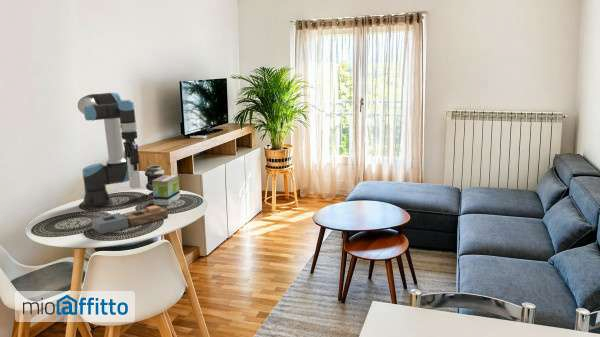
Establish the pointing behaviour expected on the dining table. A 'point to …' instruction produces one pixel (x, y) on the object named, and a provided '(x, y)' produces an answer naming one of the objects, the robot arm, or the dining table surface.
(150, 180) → the apothecary jar
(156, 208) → the plunger
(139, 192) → the dining table surface
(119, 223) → the block
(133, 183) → the steel peg
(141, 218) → the socket block
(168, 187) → the tea box
